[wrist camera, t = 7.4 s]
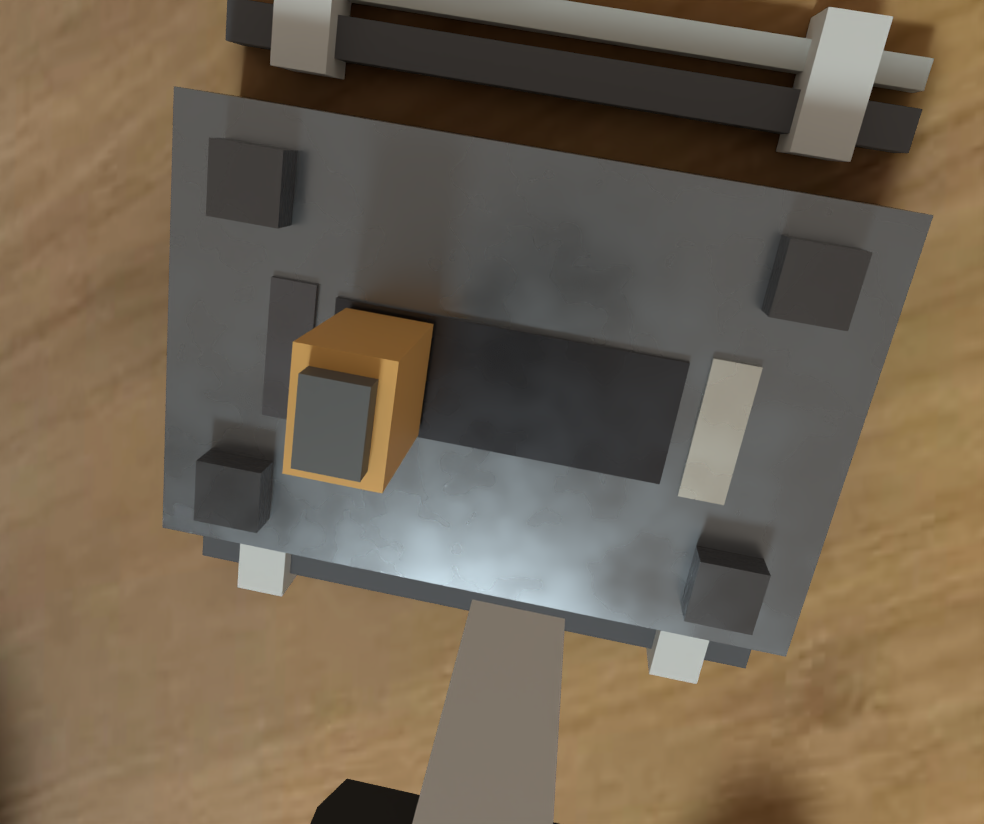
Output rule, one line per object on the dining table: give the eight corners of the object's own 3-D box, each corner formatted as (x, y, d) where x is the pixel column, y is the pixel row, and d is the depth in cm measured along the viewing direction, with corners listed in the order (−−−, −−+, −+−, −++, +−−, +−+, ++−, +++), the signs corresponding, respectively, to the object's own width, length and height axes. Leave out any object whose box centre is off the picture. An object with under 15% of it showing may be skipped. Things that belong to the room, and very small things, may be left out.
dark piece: (216, 553, 37) (193, 577, 35) (247, -71, 28) (220, -88, 26) (735, 662, 35) (744, 694, 33) (930, 36, 27) (958, 26, 25)
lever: (334, 418, 28) (271, 484, 22) (346, 307, 27) (281, 348, 21) (418, 435, 28) (375, 505, 22) (433, 324, 26) (391, 369, 21)
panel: (219, 477, 35) (146, 541, 30) (239, 96, 30) (154, 83, 24) (759, 586, 34) (793, 676, 28) (877, 204, 29) (950, 218, 23)
